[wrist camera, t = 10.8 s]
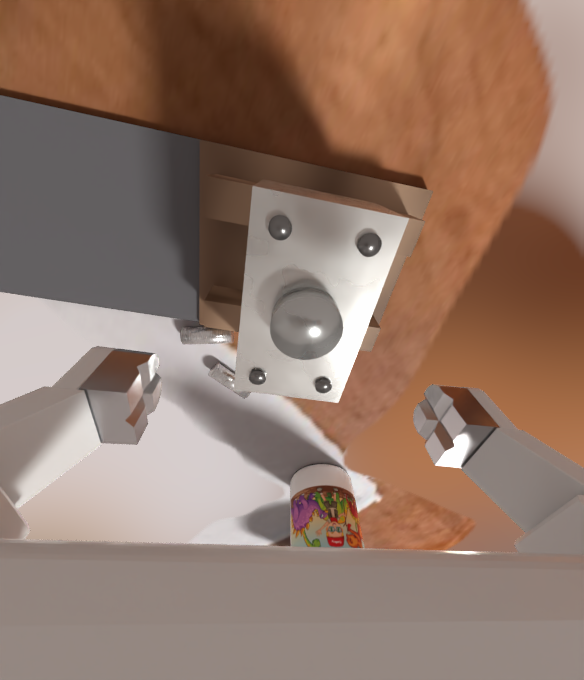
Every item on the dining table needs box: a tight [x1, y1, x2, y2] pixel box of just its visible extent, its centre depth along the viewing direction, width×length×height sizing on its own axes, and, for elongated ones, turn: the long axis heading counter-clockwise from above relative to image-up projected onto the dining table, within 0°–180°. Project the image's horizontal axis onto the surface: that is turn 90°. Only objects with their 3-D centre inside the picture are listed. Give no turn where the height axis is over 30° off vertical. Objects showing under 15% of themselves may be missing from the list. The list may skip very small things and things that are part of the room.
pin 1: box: [180, 327, 234, 344], centre depth 22 cm, size 4×1×1 cm
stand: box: [199, 139, 433, 352], centre depth 18 cm, size 14×12×3 cm
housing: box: [234, 179, 409, 403], centre depth 14 cm, size 10×6×6 cm, turn 170°
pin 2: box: [208, 363, 251, 399], centre depth 25 cm, size 4×1×1 cm, turn 45°
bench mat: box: [0, 95, 200, 322], centre depth 18 cm, size 16×12×1 cm
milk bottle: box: [290, 464, 364, 548], centre depth 27 cm, size 8×8×20 cm
